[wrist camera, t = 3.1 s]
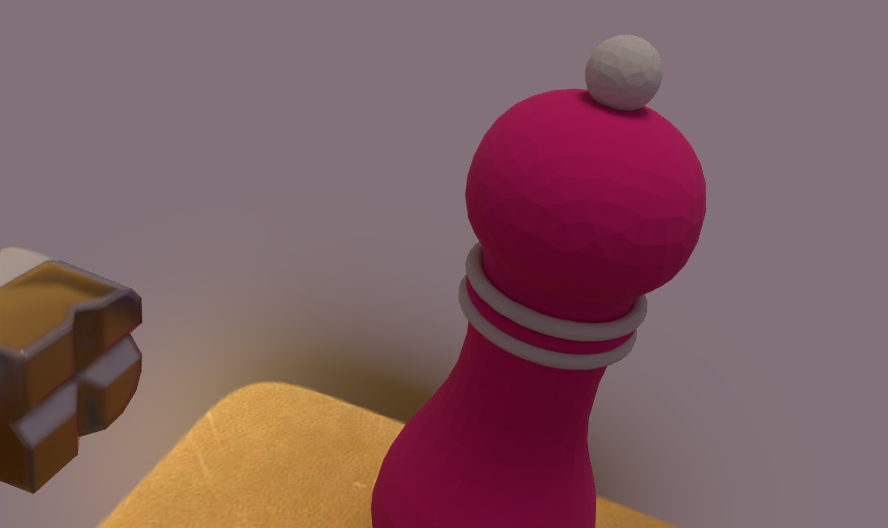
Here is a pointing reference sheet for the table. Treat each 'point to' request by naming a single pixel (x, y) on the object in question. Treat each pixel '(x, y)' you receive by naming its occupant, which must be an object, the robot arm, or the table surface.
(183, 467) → the table surface
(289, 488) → the table surface
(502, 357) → the pepper mill
